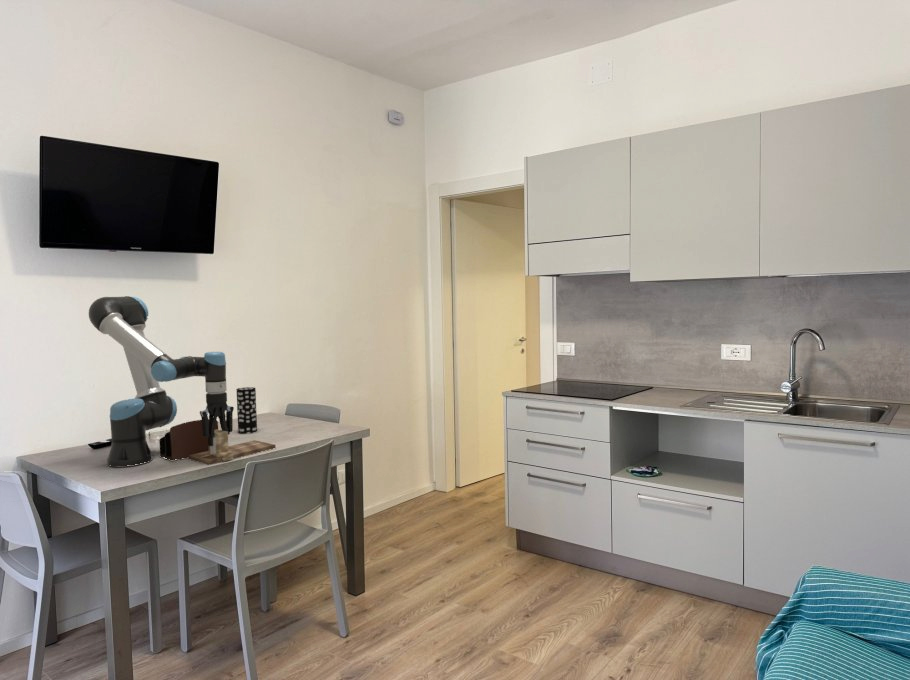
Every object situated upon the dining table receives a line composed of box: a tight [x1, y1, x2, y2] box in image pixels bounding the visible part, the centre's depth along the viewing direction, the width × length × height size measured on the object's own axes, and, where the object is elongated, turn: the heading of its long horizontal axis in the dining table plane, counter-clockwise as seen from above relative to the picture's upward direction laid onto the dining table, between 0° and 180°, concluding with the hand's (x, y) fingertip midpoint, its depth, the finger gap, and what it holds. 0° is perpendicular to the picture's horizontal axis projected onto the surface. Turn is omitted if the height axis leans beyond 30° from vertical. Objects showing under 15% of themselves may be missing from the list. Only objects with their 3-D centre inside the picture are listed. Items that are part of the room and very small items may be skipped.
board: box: [188, 439, 277, 465], centre depth 256 cm, size 30×14×2 cm, turn 143°
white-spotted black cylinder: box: [236, 386, 258, 435], centre depth 296 cm, size 8×8×20 cm
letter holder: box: [159, 418, 219, 461], centre depth 256 cm, size 10×20×14 cm, turn 140°
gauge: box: [204, 429, 234, 462], centre depth 249 cm, size 4×15×10 cm, turn 54°
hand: (218, 452), depth 249 cm, fingers closed on gauge, 4 cm apart
